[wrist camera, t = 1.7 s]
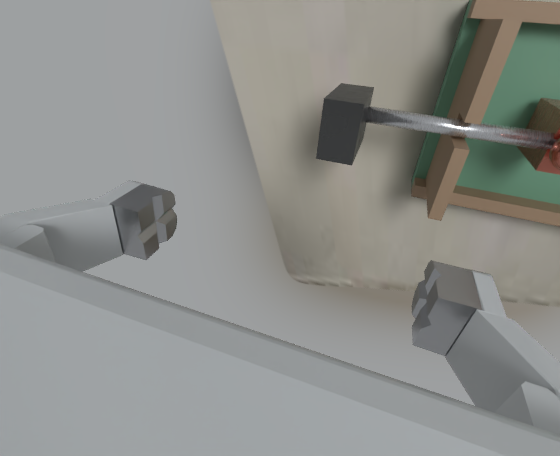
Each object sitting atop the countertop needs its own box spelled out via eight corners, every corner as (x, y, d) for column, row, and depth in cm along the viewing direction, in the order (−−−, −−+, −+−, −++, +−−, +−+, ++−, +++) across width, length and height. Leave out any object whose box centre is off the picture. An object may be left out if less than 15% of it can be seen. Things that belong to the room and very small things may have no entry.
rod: (575, 101, 25) (661, 146, 16) (547, 151, 27) (610, 214, 18) (351, 74, 29) (324, 98, 20) (343, 119, 31) (316, 158, 23)
